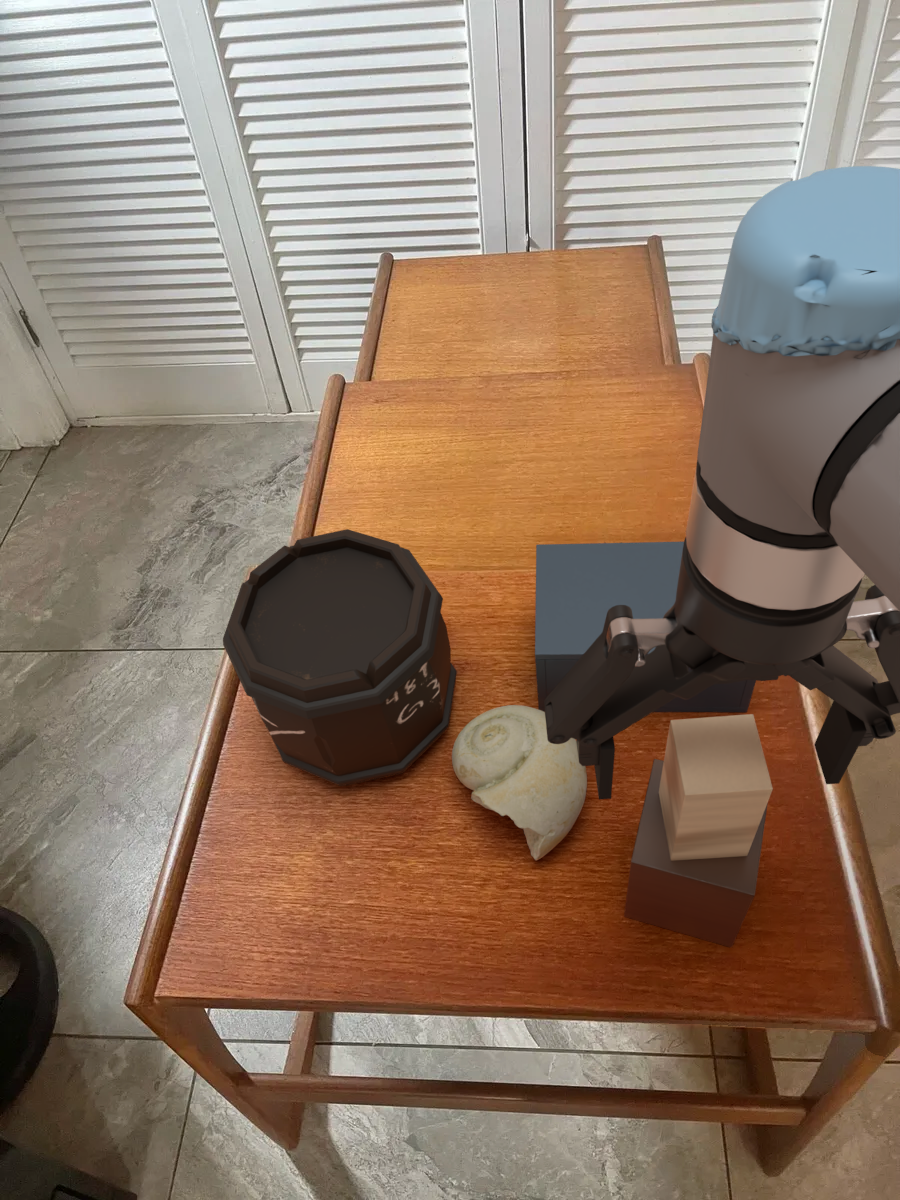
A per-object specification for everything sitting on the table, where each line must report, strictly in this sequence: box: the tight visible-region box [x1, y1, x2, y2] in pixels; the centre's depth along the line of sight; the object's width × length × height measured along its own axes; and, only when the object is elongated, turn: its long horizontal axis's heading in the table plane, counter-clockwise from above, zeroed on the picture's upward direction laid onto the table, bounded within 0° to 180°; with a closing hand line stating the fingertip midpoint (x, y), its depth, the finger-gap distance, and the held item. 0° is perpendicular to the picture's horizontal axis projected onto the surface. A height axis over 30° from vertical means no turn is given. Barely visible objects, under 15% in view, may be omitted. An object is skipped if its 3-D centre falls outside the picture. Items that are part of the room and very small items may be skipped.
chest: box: [534, 658, 757, 713], centre depth 79 cm, size 11×18×8 cm, turn 86°
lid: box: [534, 541, 684, 660], centre depth 76 cm, size 12×18×1 cm, turn 86°
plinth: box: [623, 758, 769, 948], centre depth 66 cm, size 8×8×11 cm
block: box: [659, 713, 774, 861], centre depth 57 cm, size 5×5×10 cm
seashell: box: [451, 704, 588, 861], centre depth 73 cm, size 13×8×10 cm
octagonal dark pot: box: [222, 528, 458, 787], centre depth 77 cm, size 18×18×16 cm
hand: (713, 771), depth 56 cm, fingers open, 13 cm apart
